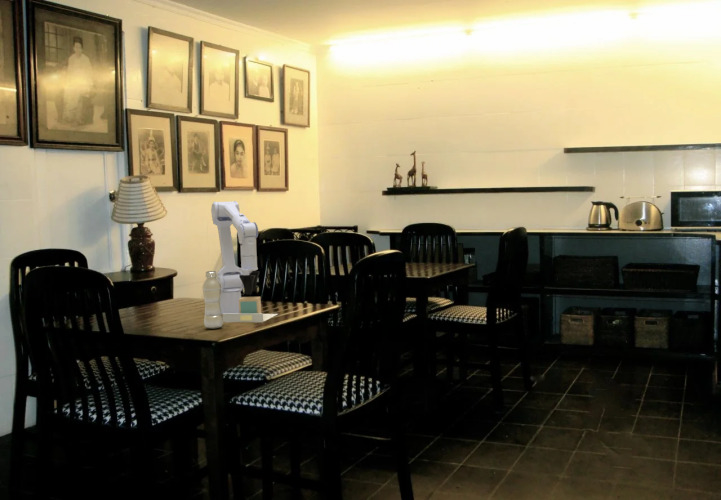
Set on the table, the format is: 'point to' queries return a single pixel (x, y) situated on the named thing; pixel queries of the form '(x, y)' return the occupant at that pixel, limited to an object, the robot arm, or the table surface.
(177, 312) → the table surface
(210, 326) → the plastic bottle
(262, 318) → the large cream panel
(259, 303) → the kraft carton
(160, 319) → the table surface
